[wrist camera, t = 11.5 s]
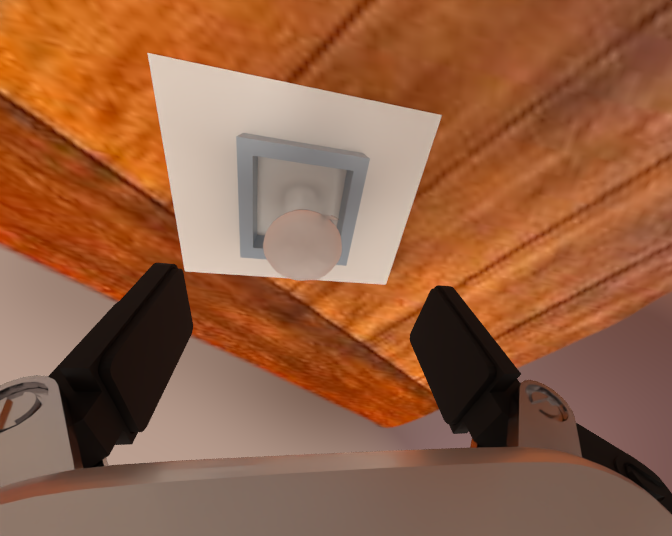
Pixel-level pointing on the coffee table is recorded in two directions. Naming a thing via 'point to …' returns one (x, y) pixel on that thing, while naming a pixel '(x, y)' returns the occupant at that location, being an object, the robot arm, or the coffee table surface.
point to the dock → (284, 166)
